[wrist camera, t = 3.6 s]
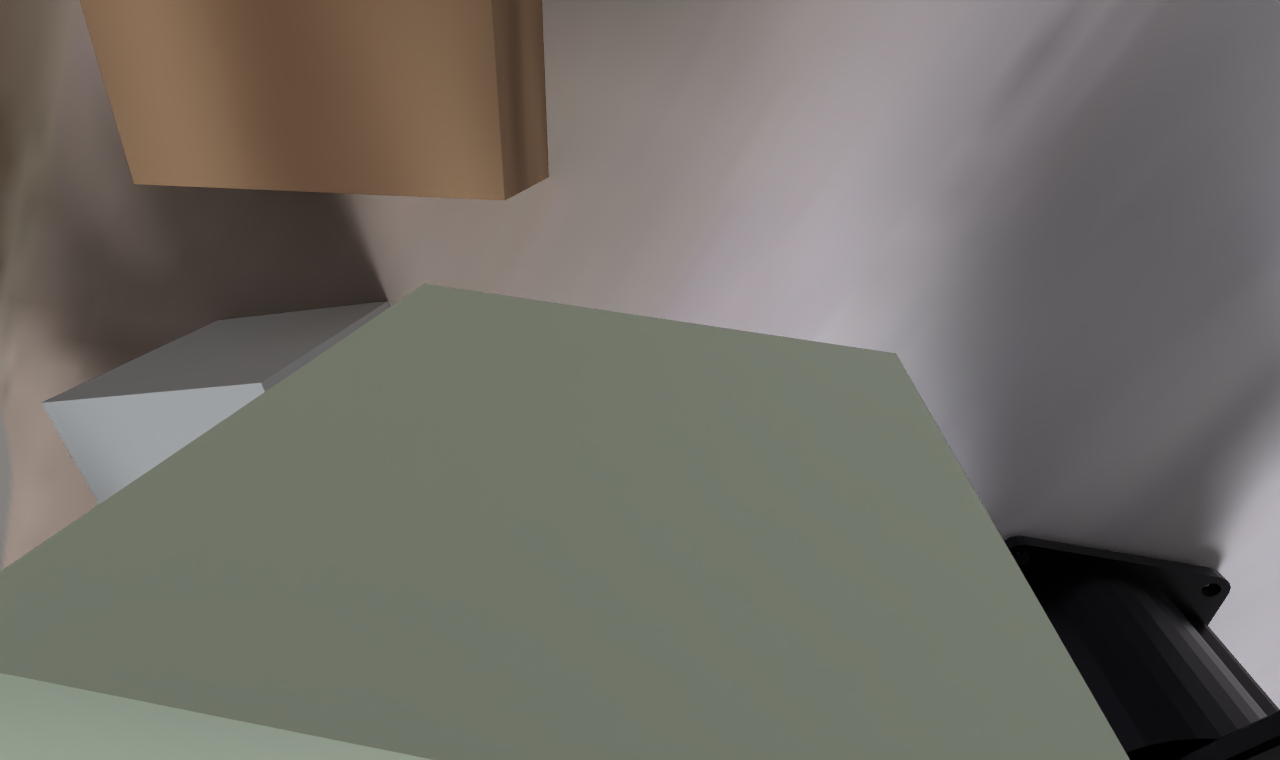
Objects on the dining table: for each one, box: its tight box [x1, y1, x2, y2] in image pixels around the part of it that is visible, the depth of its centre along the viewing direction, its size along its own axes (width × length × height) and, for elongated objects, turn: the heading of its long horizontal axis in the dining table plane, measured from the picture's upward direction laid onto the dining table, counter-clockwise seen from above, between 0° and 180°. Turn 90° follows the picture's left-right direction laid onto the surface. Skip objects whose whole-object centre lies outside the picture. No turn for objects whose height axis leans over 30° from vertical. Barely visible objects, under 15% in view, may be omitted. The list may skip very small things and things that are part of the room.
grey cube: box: [41, 301, 390, 504], centre depth 19 cm, size 6×6×6 cm
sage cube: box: [0, 284, 1130, 760], centre depth 7 cm, size 6×6×6 cm
